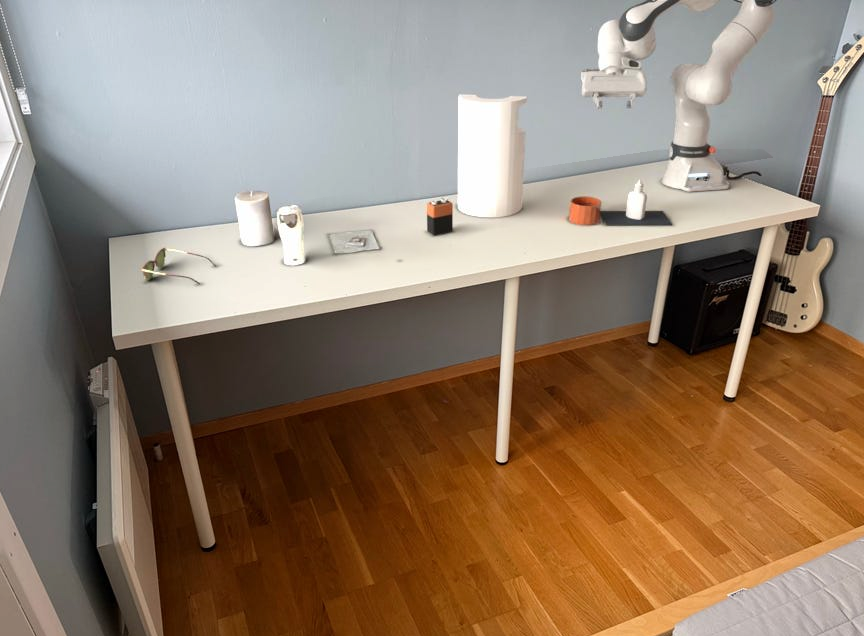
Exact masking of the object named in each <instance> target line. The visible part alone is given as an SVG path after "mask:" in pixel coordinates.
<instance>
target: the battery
mask: <svg viewBox="0 0 864 636" xmlns="http://www.w3.org/2000/svg"><path fill="white" fill-rule="evenodd" d="M453 205H454V204H453V202H451V201H449V198H447V197H441V198H440V199H439V200H432V201H430V202H427V203H426V228H427V229H426V232H428V233H429V234H431V235H432V236H438V235H443V234H447V233H452V232H453V228H454V227H453V226H454V225H453V224H454V222H453V218H454V217H453V215H454V213H453V211H454V210H453Z"/></svg>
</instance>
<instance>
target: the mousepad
mask: <svg viewBox="0 0 864 636" xmlns="http://www.w3.org/2000/svg"><path fill="white" fill-rule="evenodd" d="M328 235H329V238H330V242H331V245H332V249H333V251H334V254H335V255H341V254H349V253H357V252H358V253H359V252H363V251H373V250H380V249H381V248H380V245H379V244H378V241H377V239H376V236H375V235H374V233H373V230H372V229H367V230H357V231H348V232H347V231H346V232H337V233H329V234H328Z"/></svg>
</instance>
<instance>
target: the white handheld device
mask: <svg viewBox="0 0 864 636" xmlns="http://www.w3.org/2000/svg"><path fill="white" fill-rule="evenodd" d="M276 222H277V223H276V224H277V229H278V234H279V237H280V240H281V244H282V248H283V255H284V256H283V263H284V264H285V265H287V266H299V265H302V264H305V263H306V261H307V258H306V255H305V251H304V237H305V225H304V223H305V222H304V217H303V211H302V207H300V206H298V205H283V206H279V207H277V208H276Z"/></svg>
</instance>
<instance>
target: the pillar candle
mask: <svg viewBox="0 0 864 636" xmlns="http://www.w3.org/2000/svg"><path fill="white" fill-rule="evenodd" d="M234 201H235V208H236V215H237V220H238V221H237V222H238V227H239V234H240V241H241V244H243V245H244V246H248V247H259V246H267V245H269V244H271V243H273V242H274V240H275V230H274V224H273V217H272V209H271V203H270V195H269V193H268V192H266V191H263V190H247V191H243V192H240V193H237V194H235V196H234Z"/></svg>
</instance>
